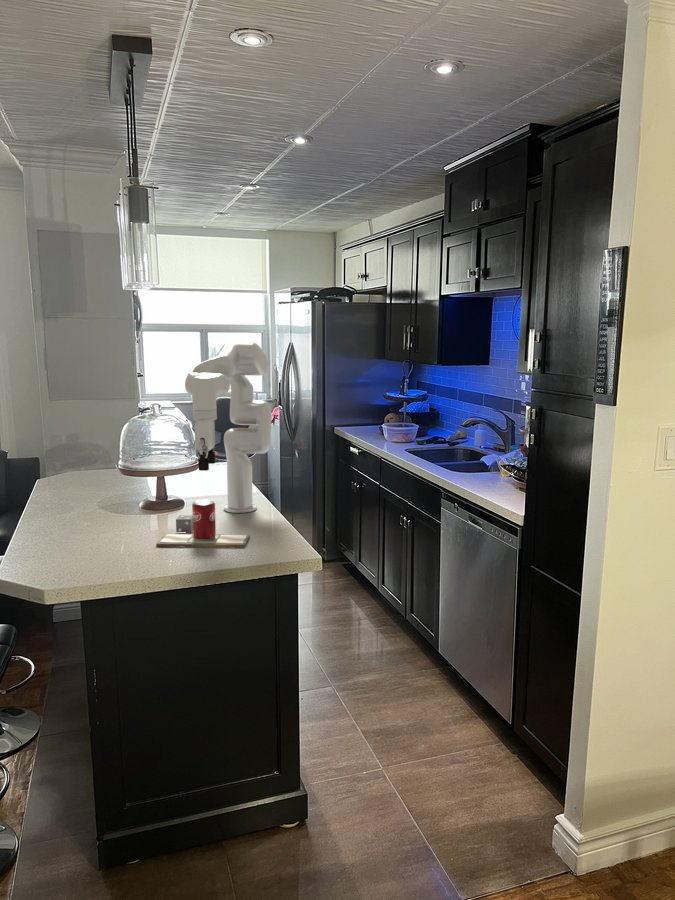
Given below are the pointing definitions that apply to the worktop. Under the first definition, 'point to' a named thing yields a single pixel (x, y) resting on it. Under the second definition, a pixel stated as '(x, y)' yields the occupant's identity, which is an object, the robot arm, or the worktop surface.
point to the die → (184, 524)
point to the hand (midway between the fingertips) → (207, 466)
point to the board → (189, 541)
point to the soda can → (203, 520)
